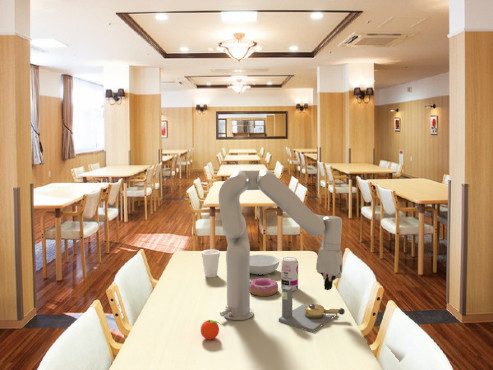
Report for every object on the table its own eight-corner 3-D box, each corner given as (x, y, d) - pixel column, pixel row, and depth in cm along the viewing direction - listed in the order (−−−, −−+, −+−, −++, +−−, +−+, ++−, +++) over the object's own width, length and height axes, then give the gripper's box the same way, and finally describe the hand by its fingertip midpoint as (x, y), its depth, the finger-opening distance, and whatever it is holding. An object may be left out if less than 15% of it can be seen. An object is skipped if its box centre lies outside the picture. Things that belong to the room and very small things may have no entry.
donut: (280, 288, 220) (280, 278, 219) (274, 298, 206) (274, 288, 206) (252, 285, 224) (252, 276, 223) (244, 295, 210) (244, 285, 210)
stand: (314, 332, 171) (315, 299, 170) (278, 321, 182) (278, 289, 180) (339, 315, 187) (340, 285, 185) (304, 306, 197) (304, 277, 196)
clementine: (222, 334, 170) (222, 316, 170) (221, 342, 164) (221, 324, 163) (201, 334, 170) (201, 316, 169) (200, 343, 163) (199, 324, 162)
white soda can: (297, 286, 222) (298, 256, 220) (298, 292, 214) (298, 261, 212) (281, 285, 223) (281, 256, 221) (281, 291, 215) (281, 261, 213)
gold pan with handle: (304, 318, 181) (304, 308, 180) (304, 310, 189) (304, 301, 188) (345, 320, 179) (345, 310, 179) (343, 312, 187) (343, 302, 186)
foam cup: (199, 274, 241) (199, 250, 240) (216, 271, 245) (215, 248, 244) (205, 279, 233) (205, 255, 231) (222, 276, 237) (222, 253, 235)
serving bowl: (235, 269, 250) (234, 257, 249) (268, 264, 258) (268, 252, 258) (251, 280, 231) (251, 267, 230) (286, 275, 240) (286, 262, 239)
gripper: (310, 244, 186) (307, 286, 188) (343, 251, 177) (340, 296, 179) (319, 241, 192) (316, 282, 194) (351, 248, 182) (348, 291, 185)
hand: (327, 289), depth 186 cm, fingers closed
